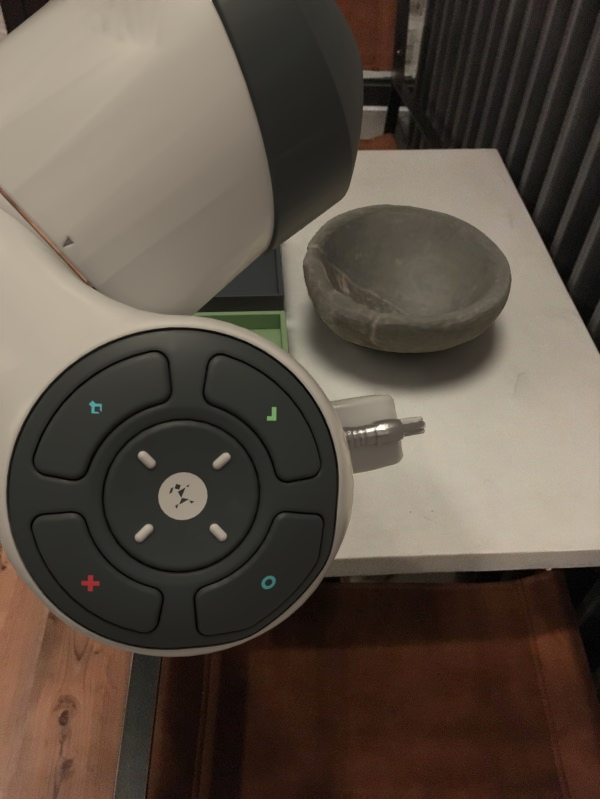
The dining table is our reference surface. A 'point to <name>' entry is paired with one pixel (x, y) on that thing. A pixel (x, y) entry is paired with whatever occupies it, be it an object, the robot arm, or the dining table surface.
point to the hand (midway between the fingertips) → (215, 453)
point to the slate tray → (252, 288)
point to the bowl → (405, 278)
